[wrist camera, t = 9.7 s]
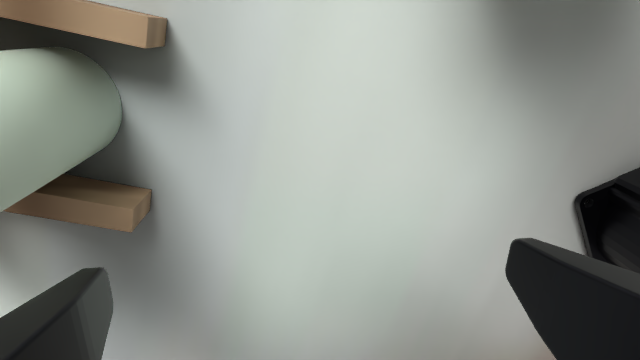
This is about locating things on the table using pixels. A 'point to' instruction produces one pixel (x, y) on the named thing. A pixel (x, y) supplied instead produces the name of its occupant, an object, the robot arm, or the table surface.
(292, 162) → the table surface
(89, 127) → the pale green tapered cylinder
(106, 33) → the holder
